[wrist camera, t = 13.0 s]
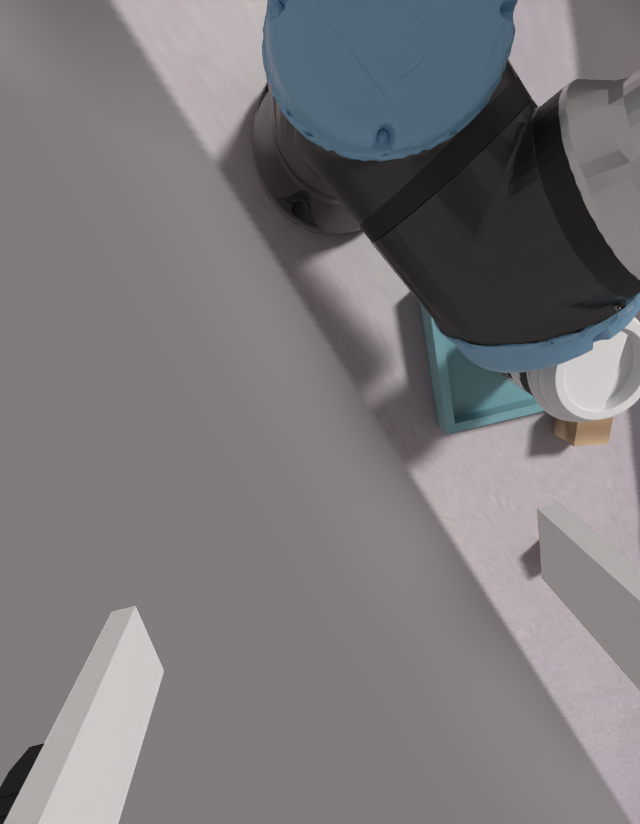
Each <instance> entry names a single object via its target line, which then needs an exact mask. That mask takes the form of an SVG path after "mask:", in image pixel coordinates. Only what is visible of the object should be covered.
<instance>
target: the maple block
mask: <svg viewBox="0 0 640 824" xmlns="http://www.w3.org/2000/svg"><path fill="white" fill-rule="evenodd" d="M612 420H613V417H610V418H606V419H600V420H595V421H589V422H571V421H564V420H561V419H558V418H555V423H554V431H553V434H554V435H556V436H557V437H559V438H561V439H563V440H564V441H566V442H568V443H569V444H571V445H573V446H584V445H600V444H608V442H609V436H610V431H611V425H612Z"/></svg>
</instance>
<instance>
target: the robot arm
mask: <svg viewBox="0 0 640 824" xmlns="http://www.w3.org/2000/svg"><path fill="white" fill-rule="evenodd" d="M516 4H517V0H268V1H267V12H266V16H265V22H264V27H263V45H262V56H263V64H264V69H265V72H266V74H267V83H266V85H265V87H264V89H263V91H262V93H261V96H260V98H259V101H258V104H257V108H256V112H255V116H254V123H253V151H254V157H255V162H256V167H257V170H258V174H259V177H260V180H261V182H262V184H263V186H264V188H265V190H266V192H267V194H268V196H269V197H270V199H271V200H272V202H273V203H274V204H275V206H276V207H277V208H278V209H279V210H280V211H281V212H282V213H283V214H284V215H285V216H286V217H287V218H289V219H290V220H291V221H293V222H294V223H296V224H297V225H299V226H301V227H303V228H305V229H307V230H310V231H313V232H316V233H320V234H326V235H342V234H349V233H353V232H356V231H359V230H362V231H363V232H364V233H365V234H366V236H367V237H368V238H369V239H370V241H371V243H372V244H373V245H374V247H375V248H376V249H377V250H378V251H379V253H380V254H381V255H382V256H383V258H384V259H385V260H386V261H387V263H388V264H389V265H390V266H391V268H392V269H393V270H394V271H395V273H396V274H397V275H398V276H399V277H400V279H401V280H402V281H403V282H404V284H405V285H406V286H407V287H408V289H409V290H410V291H411V292H412V294H413V295H414V296H415V297H416V299H417V300H418V301H419V302H420V303H421V305H422V306H423V307H424V308H425V310H426V311H427V312H428V313H429V315H430V316H431V317H432V318H433V320H434V323H435V326H436V328H437V329H438V331H439V332H440V333H441V334H442V335H443V336H445V337H446V338H447V340H449V341H451V342H453V343H454V344H455V345H456V347H457V348H458V349H459V350H460V351H461V352H462V353H463V354H464V356H465V357H466V358H467V359H468V360H470V361H471V362H472V363H474V364H476V365H477V366H479V367H481V368H483V369H486V370H490V371H494V372H501V373H521V372H529V371H535V370H540V369H545V368H549V367H552V366H556V365H559V364H562V363H565V362H567V361H570V360H572V359H574V358H577V357H579V356H581V355H583V354H585V353H587V352H589V351H591V350H592V349H593V343H594V342H596V341H599V340H609V339H611V338H612V337H614V336H615V335H616V334H618V333H619V332H620V331H621V330H623V329H624V328H625V327H626V326H627V325H628V324H629V323H630V322H631V321H632V319H633V318H634V317H635V315H636V314H637V313H638V311H639V310H640V69H638V70H637V71H636V72H634V73H633V74H632V75H630V76H629V77H627V78H622V79H618V80H598V79H576V80H574V81H572V82H571V83H569V84H568V85H566V86H565V87H564V88H563V89H561V90H560V91H559V92H558V93H556V94H555V95H554V96H553V97H552V98H550V99H549V100H548V101H547V102H545V103H544V104H543V105H542V106H540V107H538V106H537V105H536V103H535V102H534V101H533V99H532V98H531V96H530V95H529V93H528V92H527V90H526V88H525V87H524V85H523V83H522V82H521V80H520V78H519V77H518V75H517V73H516V72H515V70H514V68H513V67H512V65H511V63H510V61H509V60H508V58H509V55H510V52H511V47H512V44H513V40H514V35H515V26H514V24H513V12H514V8H515V6H516ZM537 517H538V530H539V544H540V558H541V571H542V579H543V580H544V581H545V582H546V583H547V584H548V585H549V587H550V588H551V589H552V590H553V591H554V592H555V594H556V595H557V596H558V597H559V598H560V599H561V600H562V602H563V603H564V604H565V605H566V606H567V607H568V609H569V610H570V611H571V612H572V613H573V614H574V615H575V617H576V618H577V619H578V620H579V621H580V622H581V623H582V625H583V626H584V627H585V628H586V629H587V630H588V632H589V633H590V634H591V635H592V636H593V637H594V638H595V640H596V641H597V642H598V643H599V644H600V645H601V647H602V648H603V649H604V650H605V651H606V652H607V653H608V655H609V656H610V657H611V658H612V659H613V660H614V661H615V663H616V664H617V665H618V666H619V667H620V668H621V670H622V671H623V672H624V673H625V674H626V675H627V676H628V678H629V679H630V680H631V681H632V682H633V683H634V685H635V686H636V687H637V688H638V689H639V690H640V567H639V566H638V565H637V564H636V563H634V562H633V561H632V560H631V559H629V558H628V557H627V556H626V555H624V554H623V553H622V552H621V551H619V550H618V549H617V548H616V547H614V546H613V545H612V544H611V543H609V542H608V541H607V540H606V539H604V538H603V537H602V536H601V535H600V534H598V533H597V532H596V531H595V530H593V529H592V528H591V527H590V526H588V525H587V524H586V523H585V522H583V521H582V520H581V519H580V518H578V517H577V516H576V515H575V514H573V513H572V512H571V511H570V510H569V509H567V508H566V507H565V506H564V505H562V504H561V503H556V504H552V505H548V506H544V507H540V508H537ZM163 672H164V670H163V668H162V665H161V663H160V661H159V659H158V656H157V654H156V652H155V649H154V647H153V645H152V643H151V640H150V638H149V636H148V634H147V631H146V629H145V627H144V624H143V622H142V620H141V618H140V615H139V613H138V611H137V609H136V606H133V607H129V608H125V609H121V610H117V611H113V612H111V614H110V616H109V618H108V620H107V622H106V624H105V626H104V628H103V630H102V632H101V634H100V636H99V637H98V639H97V641H96V643H95V645H94V647H93V649H92V651H91V653H90V655H89V657H88V659H87V661H86V663H85V665H84V667H83V669H82V671H81V673H80V675H79V677H78V679H77V681H76V683H75V685H74V687H73V689H72V690H71V692H70V695H69V696H68V699H67V700H66V702H65V704H64V706H63V708H62V710H61V712H60V714H59V716H58V718H57V720H56V722H55V724H54V726H53V728H52V730H51V732H50V734H49V735H48V737H47V740H46V742H45V743H44V744H40V745H36V746H32V747H29V749H28V750H27V751H26V752H25V753H24V754H23V756H22V757H21V758H20V759H19V760H18V762H17V763H16V764H15V765H14V767H13V768H12V769H11V770H10V771H9V773H8V774H7V776H6V778H5V780H4V782H3V783H2V785H1V787H0V824H118V822H119V819H120V816H121V812H122V809H123V806H124V802H125V799H126V796H127V792H128V789H129V786H130V782H131V779H132V776H133V772H134V769H135V766H136V762H137V759H138V756H139V752H140V749H141V746H142V742H143V739H144V736H145V732H146V729H147V725H148V722H149V719H150V716H151V712H152V709H153V706H154V702H155V699H156V696H157V692H158V689H159V686H160V682H161V679H162V676H163Z"/></svg>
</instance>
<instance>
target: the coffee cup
mask: <svg viewBox="0 0 640 824" xmlns="http://www.w3.org/2000/svg"><path fill="white" fill-rule="evenodd" d="M498 373H500V374H501V375H503V376H504V377H506V378H507V379H509V380H510V381H511V382H513V383H514V384H516V385H517V386H519V387H520V388H522V389H523V390H525V391H526V392H528V393H529V394H531V395H532V396H534V397H535V399H536V401H537V403H538V404H539V405H540V406H541V408H542V409H543V410H544V411H546V412H547V413H548V414H550V415H551V416H553V417H555V418H558V419H561V420H564V421H571V422H589V421H595V420H600V419H606V418H610V417H613V416H615V415H617V414H619V413H621V412H623V411H625V410H626V409H628V408H629V407H630V406H632V405H633V404H634V403H635V402H636V401H637V400H638V399H639V398H640V322H639V321H638V320H637V319H636V318H635V317H634V318H633V319H632V321H631V322H630V323H629V324H628V325H627V326H626V327H625V328H624V329H623V330H621V331H620V332H619V333H618V334H616V335H615V336H614V337H612V338H611V339H609V340H599V341H596V342H594V343H593V349H592V350H591V351H589V352H587V353H585V354H583V355H581V356H579V357H577V358H574V359H572V360H570V361H567V362H565V363H562V364H559V365H556V366H552V367H549V368H545V369H540V370H535V371H529V372H521V373H501V372H498Z"/></svg>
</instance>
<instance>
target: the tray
mask: <svg viewBox="0 0 640 824" xmlns="http://www.w3.org/2000/svg"><path fill="white" fill-rule="evenodd" d="M420 306H421V313H422V320H423V327H424V334H425V341H426V348H427V354H428V361H429V368H430V375H431V382H432V389H433V396H434V403H435V410H436V417H437V424H438V426H439V427H440V428H441V429H442V430H443V431H444V432H445V433H446V434H450V433H455V432H459V431H463V430H467V429H471V428H475V427H480V426H484V425H488V424H492V423H496V422H500V421H505V420H509V419H513V418H517V417H521V416H526V415H530V414H534V413H538V412H542V411H544V410H543V409H542V408H541V406H540V405H539V404H538V403H537V401H536V399H535V397H534V396H532V395H531V394H529V393H528V392H526V391H525V390H523V389H522V388H520V387H519V386H517V385H516V384H514V383H513V382H511V381H510V380H509V379H507V378H506V377H504V376H503V375H501V374H500V373H498V372H494V371H490V370H486V369H483V368H481V367H479V366H477V365H476V364H474V363H472V362H471V361H470V360H468V359H467V358H466V357H465V356H464V354H463V353H462V352H461V351H460V350H459V349H458V348H457V347H456V345H455V344H454V343H453V342H451V341H449V340H447V338H446V337H445V336H443V335H442V334H441V333H440V332H439V331H438V329H437V328H436V326H435V323H434V320H433V318H432V317H431V316H430V315H429V313H428V312H427V311H426V310H425V308H424V307H423V306H422V305H421V303H420Z"/></svg>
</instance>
